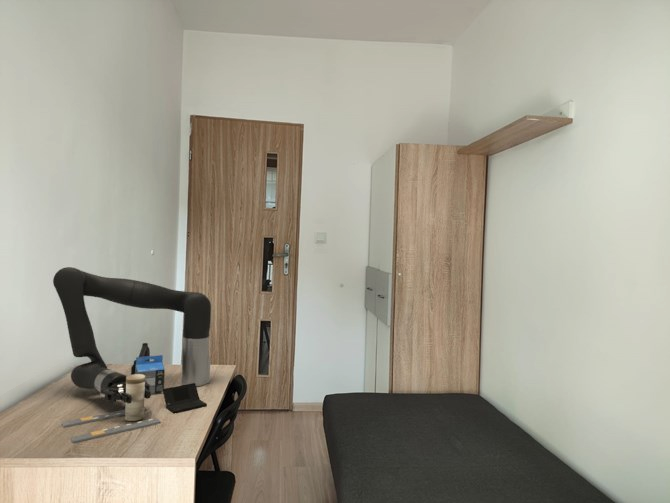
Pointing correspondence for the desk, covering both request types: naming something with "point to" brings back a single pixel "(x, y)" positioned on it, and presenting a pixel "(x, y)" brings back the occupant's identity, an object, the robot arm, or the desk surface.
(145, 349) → the black tall piece
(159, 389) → the label tape cartridge
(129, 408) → the cream stub
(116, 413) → the dashed lane plates
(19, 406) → the desk surface
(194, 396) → the handheld gaming console
